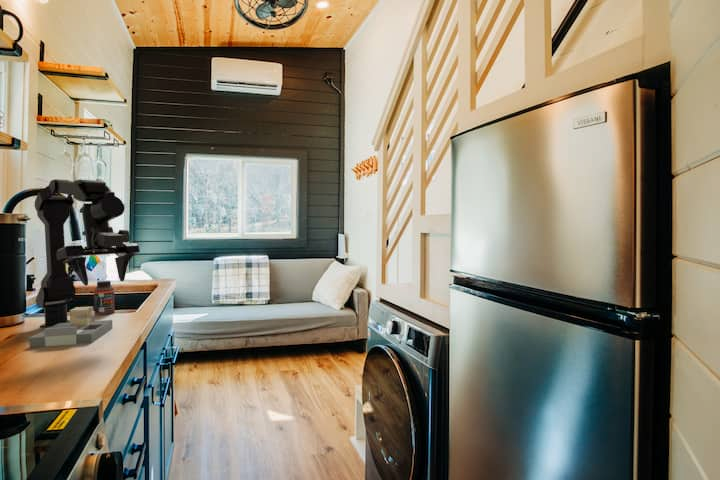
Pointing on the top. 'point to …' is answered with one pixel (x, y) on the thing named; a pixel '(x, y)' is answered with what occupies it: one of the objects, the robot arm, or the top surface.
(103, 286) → the supplement bottle
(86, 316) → the maple block
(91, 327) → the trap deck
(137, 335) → the top surface
